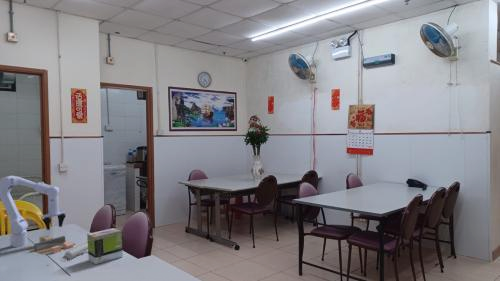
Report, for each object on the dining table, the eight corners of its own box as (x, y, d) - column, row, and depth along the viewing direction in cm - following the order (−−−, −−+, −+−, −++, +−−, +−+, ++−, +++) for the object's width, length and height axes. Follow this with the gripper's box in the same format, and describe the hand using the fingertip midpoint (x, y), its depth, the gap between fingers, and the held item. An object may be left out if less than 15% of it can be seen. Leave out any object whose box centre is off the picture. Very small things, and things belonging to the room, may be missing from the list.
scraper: (28, 248, 207) (28, 240, 206) (56, 240, 221) (56, 232, 221) (36, 251, 202) (36, 242, 202) (65, 242, 217) (65, 234, 216)
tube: (71, 253, 190) (101, 239, 214) (63, 250, 191) (94, 236, 215) (69, 262, 190) (99, 247, 215) (61, 259, 192) (92, 244, 216)
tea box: (115, 253, 201) (114, 227, 200) (122, 257, 194) (122, 230, 193) (87, 260, 190) (86, 233, 190) (94, 265, 183) (94, 236, 183)
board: (25, 252, 205) (25, 249, 205) (58, 242, 223) (58, 240, 223) (42, 257, 196) (42, 254, 196) (76, 246, 214) (76, 244, 213)
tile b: (62, 247, 207) (63, 242, 206) (68, 245, 211) (69, 240, 210) (66, 250, 205) (67, 246, 205) (72, 248, 209) (73, 244, 208)
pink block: (50, 247, 199) (54, 248, 197) (57, 245, 202) (60, 246, 201) (51, 254, 199) (54, 255, 197) (58, 252, 202) (61, 253, 201)
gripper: (45, 209, 209) (46, 231, 209) (68, 204, 222) (69, 226, 222) (38, 208, 213) (39, 230, 213) (62, 203, 225) (62, 224, 225)
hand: (54, 228), depth 218 cm, fingers open, 7 cm apart
